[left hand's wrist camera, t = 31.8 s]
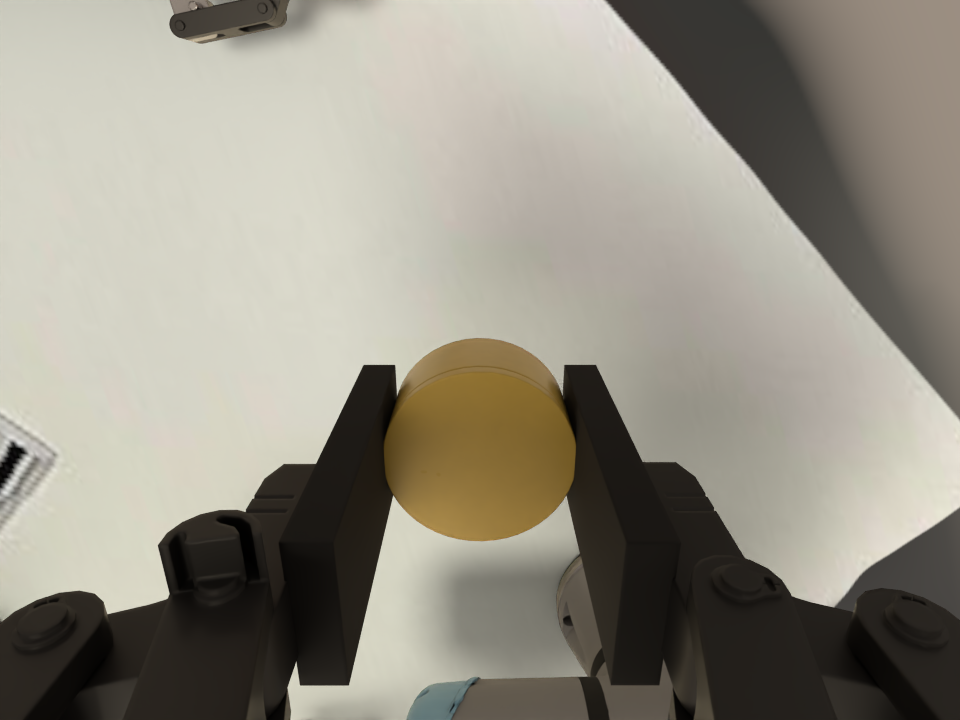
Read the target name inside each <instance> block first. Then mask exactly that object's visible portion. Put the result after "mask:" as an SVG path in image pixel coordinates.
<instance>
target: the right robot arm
mask: <svg viewBox="0 0 960 720" xmlns="http://www.w3.org/2000/svg"><path fill="white" fill-rule="evenodd" d="M170 2H171V6H172V9H173V12H174V15H173V16H172V17H171V19H170V29H171V31H172V32H173V34H174V35H176V36H177V37H179V38H183V39H186V40H189V41H193V42H196V43H200V44H203V43H208V42H212V41H217V40H222V39H227V38H231V37H236V36H241V35H246V34H250V33H255V32H260V31H265V30H269V29H274V28H279V27H282V26H283V25H284V24H285V23H286V20H287V14H286V10H287V6H288V3H289V0H238V1H234V2H229V3H224V4H220V5H215V6H214V5H213V4H212V3H211V2H210V1H208V0H170Z"/></svg>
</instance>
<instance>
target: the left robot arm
mask: <svg viewBox="0 0 960 720" xmlns="http://www.w3.org/2000/svg"><path fill="white" fill-rule="evenodd" d="M396 399H397V389H396V372H395V365H364V366H363V368H362V370H361V372H360V374H359V376H358V378H357V380H356V382H355V384H354V386H353V388H352V391H351V393H350V395H349V397H348V399H347V401H346V403H345V405H344V407H343V409H342V411H341V413H340V415H339V418H338V420H337V422H336V424H335V426H334V428H333V430H332V432H331V434H330V436H329V438H328V440H327V442H326V445H325V447H324V449H323V451H322V453H321V455H320V457H319V459H318V461H317V463H316V464H284V465H282V466H281V467H280V468H278V469H277V470H276V471H274V472H273V473H272V474H270V475H269V476H268V477H266V478H265V479H264V481H263V482H262V484H261V486H260V487H259V489H258V491H257V492H256V494H255V498H254V499H252V501H251V502H250V504H249V506H248V507H247V509H246V512H243V511H239V510H218V511H214V512H209V513H205V514H200V515H198V516H196V517H193V518H191V519H189V520H186V521H184V522H182V523H181V524H179V525H178V526H176V527H175V528H174V529H172V530H171V531H169V532H168V533H167V534H166V535H165V537H164V538H163V539H162V541H161V542H160V543H159V545H158V548H159V552H160V556H161V560H162V564H163V568H164V572H165V576H166V580H167V585H168V589H169V593H170V595H169V597H168V599H166V600H163V601H160V602H157V603H153V604H150V605H146V606H142V607H137V608H133V609H129V610H124V611H120V612H116V613H111V614H107V612H106V609H105V605H104V602H103V601H102V600H101V599H100V598H99V597H98V596H97V595H95V594H93V593H88V592H83V591H72V592H63V593H57V594H54V595H51V596H48V597H45V598H42V599H39V600H36V601H34V602H32V603H30V604H29V605H27V606H25V607H23V608H21V609H19V610H17V611H15V612H14V613H13V614H11V615H10V616H9V617H8V618H6V619H5V620H4V621H3V622H1V623H0V720H290V716H291V709H290V702H289V695H288V689H287V687H288V684H289V681H290V678H291V675H292V672H293V669H294V666H295V663H296V661H297V668H298V674H299V681H300V685H349V682H350V678H351V674H352V670H353V665H354V661H355V657H356V652H357V648H358V644H359V640H360V635H361V631H362V627H363V622H364V618H365V614H366V609H367V605H368V601H369V597H370V592H371V588H372V584H373V579H374V575H375V571H376V567H377V562H378V558H379V554H380V549H381V545H382V541H383V536H384V532H385V528H386V524H387V519H388V515H389V511H390V506H391V502H392V498H393V493H392V491H391V489H390V487H389V485H388V483H387V480H386V475H385V461H384V439H385V435H386V432H387V428H388V425H389V422H390V419H391V415H392V412H393V409H394V405H395V402H396ZM563 399H564V403H565V406H566V409H567V412H568V416H569V419H570V422H571V426H572V429H573V432H574V435H575V440H576V455H575V470H574V480H573V482H572V485H571V487H570V489H569V491H568V493H567V499H568V504H569V508H570V512H571V517H572V521H573V525H574V530H575V534H576V538H577V542H578V547H579V551H580V556H579V557H578V558H577V559H575V560H574V562H573V563H572V564H571V565H570V566H569V567H568V569H567V570H566V572H565V573H564V575H563V577H562V579H561V581H560V584H559V587H558V591H557V598H556V604H557V612H558V618H559V624H560V627H561V630H562V632H563V635H564V637H565V639H566V641H567V643H568V645H569V646H570V648H571V650H572V651H573V653H574V654H575V656H576V658H577V659H578V661H579V663H580V664H581V666H582V668H583V669H584V671H585V673H586V674H587V676H588V677H560V678H515V679H480V678H479V677H473V678H471V679H469V680H468V681H459V682H447V683H437V684H433V685H430V686H428V687H427V688H425V689H424V690H423V691H421V693H420V694H419V695H418V696H417V698H416V699H415V701H414V703H413V705H412V706H411V708H410V711H409V713H408V716H407V719H406V720H960V620H959V619H957V618H956V617H955V616H954V615H952V614H951V613H950V612H949V611H947V610H946V609H944V608H942V607H941V606H939V605H937V604H935V603H933V602H931V601H929V600H927V599H925V598H923V597H920V596H917V595H914V594H911V593H908V592H905V591H901V590H893V589H884V588H880V589H874V590H869V591H865V592H864V593H863V594H862V595H861V596H860V597H859V598H858V599H857V600H856V604H855V607H854V610H853V612H850V611H846V610H842V609H837V608H833V607H829V606H824V605H820V604H816V603H811V602H808V601H805V600H801V599H798V598H795V597H792V596H791V594H790V592H789V590H788V589H787V587H786V586H785V584H784V583H783V581H782V580H781V579H780V578H779V577H777V576H776V575H775V574H774V573H773V572H771V571H770V570H769V569H768V568H766V567H764V566H762V565H759V564H757V563H755V562H753V561H751V560H748V559H745V558H744V556H743V554H742V553H741V551H740V550H739V548H738V546H737V545H736V543H735V541H734V540H733V538H732V536H731V535H730V533H729V532H728V530H727V528H726V527H725V525H724V523H723V522H722V520H721V518H720V517H719V515H718V513H717V512H716V511H714V507H713V505H712V504H711V502H710V500H709V499H708V497H706V496H705V492H704V491H703V489H702V487H701V486H700V484H699V482H698V481H697V479H696V477H695V476H693V475H692V474H691V473H689V472H688V471H687V470H685V469H684V468H683V467H681V466H680V465H679V464H677V463H676V462H642V460H641V458H640V456H639V454H638V452H637V450H636V448H635V445H634V443H633V441H632V439H631V437H630V435H629V433H628V431H627V429H626V427H625V425H624V423H623V420H622V418H621V416H620V414H619V412H618V410H617V408H616V406H615V404H614V402H613V400H612V398H611V395H610V393H609V391H608V389H607V387H606V385H605V383H604V381H603V379H602V377H601V375H600V373H599V371H598V368H597V366H596V365H564V382H563Z"/></svg>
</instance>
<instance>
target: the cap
mask: <svg viewBox="0 0 960 720" xmlns="http://www.w3.org/2000/svg"><path fill="white" fill-rule="evenodd" d="M575 455H576V440H575V435H574V432H573V429H572V426H571V422H570V419H569V416H568V412H567V409H566V406H565V403H564V399H563V396H562V393H561V390H560V388H559V385H558V383H557V382H556V380H555V378H554V376H553V375H552V374H551V372H550V371H549V369H548V368H547V367H546V366H545V365H544V364H543V363H542V362H541V361H540V360H539V359H537V358H536V357H535V356H534V355H532V354H531V353H529V352H528V351H526V350H524V349H523V348H520V347H518V346H516V345H513V344H511V343H507V342H504V341H501V340H494V339H485V338H474V339H465V340H460V341H455V342H452V343H449V344H446V345H444V346H442V347H440V348H438V349H436V350H434V351H432V352H431V353H429V354H428V355H426V356H425V357H423V358H422V359H421V360H420V361H419V362H418V363H417V364H416V365H415V366H414V367H413V368H412V369H411V370H410V372H409V373H408V375H407V376H406V378H405V379H404V381H403V383H402V385H401V387H400V390H399V392H398V396H397V399H396V402H395V405H394V409H393V412H392V415H391V419H390V422H389V425H388V428H387V432H386V435H385V439H384V461H385V475H386V480H387V483H388V485H389V487H390V489H391V491H392V493H393V495H394V497H395V498H396V500H397V501H398V503H399V504H400V505H401V506H402V508H403V509H404V510H405V511H406V512H407V513H408V514H409V515H410V516H412V517H413V518H414V519H415V520H416V521H418V522H419V523H421V524H422V525H424V526H425V527H427V528H429V529H431V530H433V531H435V532H437V533H440V534H443V535H445V536H448V537H452V538H456V539H462V540H469V541H490V540H498V539H503V538H508V537H511V536H514V535H518V534H520V533H522V532H525V531H527V530H529V529H531V528H532V527H534V526H536V525H538V524H539V523H541V522H542V521H543V520H545V519H546V518H547V517H548V516H549V515H551V514H552V513H553V512H554V511H555V510H556V509H557V507H558V506H559V505H560V504H561V502H562V501H563V500H564V498H565V496H566V495H567V493H568V491H569V489H570V487H571V485H572V482H573V480H574V470H575Z"/></svg>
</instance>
